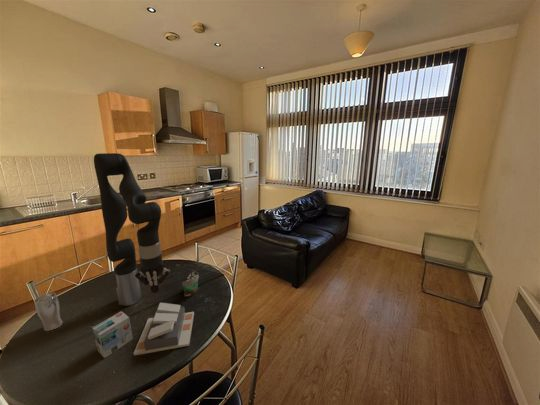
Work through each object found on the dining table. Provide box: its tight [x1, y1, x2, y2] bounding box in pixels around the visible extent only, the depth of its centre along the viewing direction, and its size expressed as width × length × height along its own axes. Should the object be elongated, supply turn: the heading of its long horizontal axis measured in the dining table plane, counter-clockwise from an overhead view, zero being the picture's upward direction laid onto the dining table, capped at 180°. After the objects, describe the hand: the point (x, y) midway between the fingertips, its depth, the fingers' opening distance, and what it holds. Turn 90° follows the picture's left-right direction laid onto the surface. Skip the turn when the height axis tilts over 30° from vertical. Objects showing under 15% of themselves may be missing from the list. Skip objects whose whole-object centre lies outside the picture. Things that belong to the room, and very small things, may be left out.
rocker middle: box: [153, 312, 178, 324], centre depth 92 cm, size 9×4×1 cm, turn 103°
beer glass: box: [34, 292, 64, 332], centre depth 95 cm, size 7×7×15 cm
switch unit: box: [133, 305, 195, 356], centre depth 93 cm, size 20×18×6 cm
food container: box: [181, 269, 200, 298], centre depth 119 cm, size 12×6×10 cm, turn 179°
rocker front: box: [148, 320, 174, 340], centre depth 87 cm, size 9×4×1 cm, turn 102°
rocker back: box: [157, 302, 182, 314], centre depth 98 cm, size 9×4×1 cm, turn 103°
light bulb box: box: [92, 311, 133, 359], centre depth 87 cm, size 11×7×11 cm, turn 148°
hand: (155, 291), depth 89 cm, fingers closed
